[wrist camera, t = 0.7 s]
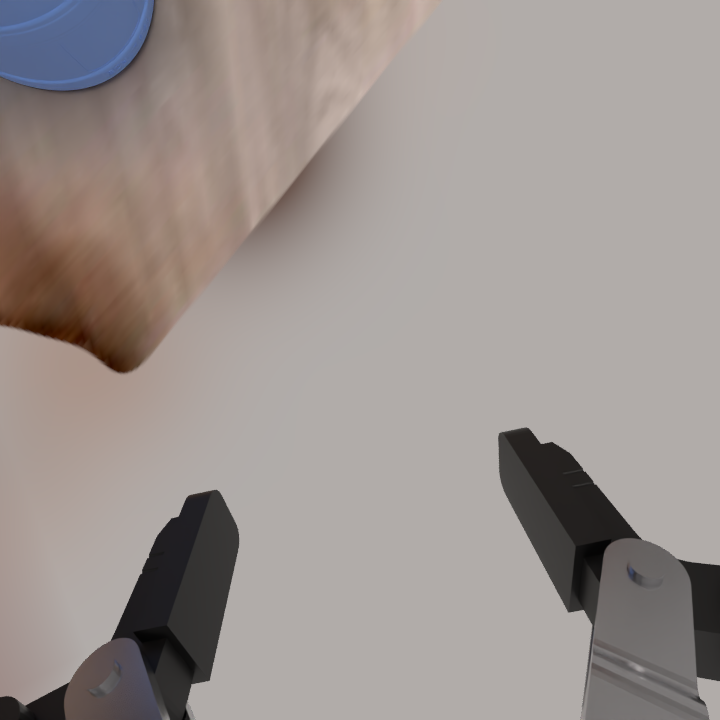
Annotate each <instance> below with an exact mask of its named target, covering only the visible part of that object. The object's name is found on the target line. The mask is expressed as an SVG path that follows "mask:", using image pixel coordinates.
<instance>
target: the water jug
mask: <svg viewBox="0 0 720 720" xmlns="http://www.w3.org/2000/svg"><path fill="white" fill-rule="evenodd" d="M153 6H154V0H0V76H1V77H3V78H5V79H8V80H11V81H13V82H16V83H19V84H23V85H26V86H30V87H35V88H40V89H47V90H77V89H83V88H88V87H92V86H95V85H98V84H100V83H102V82H105V81H107V80H109V79H110V78H112V77H114V76H115V75H117V74H118V73H119V72H121V71H122V70H123V69H124V68H125V67H126V66H127V65H128V64H129V63H130V62H131V61H132V60H133V58H134V57H135V56H136V54H137V53H138V51H139V50H140V48H141V46H142V44H143V42H144V40H145V38H146V36H147V33H148V30H149V27H150V23H151V19H152V13H153Z"/></svg>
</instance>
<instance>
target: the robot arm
mask: <svg viewBox="0 0 720 720" xmlns="http://www.w3.org/2000/svg"><path fill="white" fill-rule="evenodd" d="M498 441H499V472H500V478H501V483H502V486H503V489H504V492H505V494H506V496H507V498H508V499H509V502H510V503H511V505H512V507H513V509H514V511H515V513H516V515H517V516H518V519H519V520H520V522H521V524H522V526H523V528H524V530H525V531H526V534H527V536H528V537H529V539H530V541H531V543H532V545H533V547H534V549H535V550H536V552H537V554H538V556H539V558H540V560H541V562H542V564H543V566H544V567H545V569H546V571H547V573H548V575H549V577H550V579H551V580H552V582H553V584H554V586H555V588H556V590H557V592H558V594H559V595H560V597H561V599H562V601H563V603H564V605H565V607H566V609H567V611H568V612H574V611H579V610H584V611H585V613H586V614H587V616H588V618H589V620H590V621H591V623H592V632H591V640H590V648H589V657H588V665H587V672H586V682H585V688H584V697H583V704H582V712H581V720H709V715H708V711H707V707H706V704H705V702H704V701H702V700H701V699H700V697H699V694H698V688H697V677H700V678H705V679H711V680H716V681H720V565H710V564H701V563H692V562H687V561H683V560H679V559H676V558H675V557H674V556H673V555H672V554H670V553H669V552H668V551H666V550H665V549H663V548H661V547H660V546H657V545H655V544H653V543H651V542H647V541H644V540H642V539H641V538H640V537H639V536H638V535H637V534H636V533H635V531H634V530H633V529H632V528H631V527H630V525H629V524H628V523H627V522H626V521H625V519H624V518H623V517H622V516H621V515H620V513H619V512H618V511H617V510H616V508H615V507H614V506H613V505H612V503H611V502H610V501H609V500H608V499H607V497H606V496H605V495H604V494H603V493H602V491H601V490H600V489H599V488H598V487H597V485H594V483H593V480H592V479H591V478H590V477H589V475H588V474H587V473H586V472H584V471H583V468H582V467H581V466H580V465H579V463H578V462H577V461H576V460H575V459H574V457H573V456H572V455H571V454H570V453H569V452H567V451H566V450H564V449H562V448H561V447H559V446H557V445H556V444H554V443H553V442H550V443H545V444H540V442H539V441H538V440H537V438H536V437H535V436H534V434H533V433H532V432H531V430H530V429H529V428H521V429H516V430H511V431H507V432H502V433H499V437H498ZM238 548H239V533H238V528H237V525H236V523H235V521H234V519H233V517H232V515H231V513H230V511H229V509H228V507H227V506H226V503H225V501H224V499H223V497H222V495H221V494H220V492H219V491H218V490H212V491H208V492H203V493H198V494H193V495H189V496H188V497H187V498H186V500H185V503H184V505H183V508H182V510H181V513H180V515H179V517H176V518H172V519H171V520H170V521H169V522H168V523H167V525H166V526H165V527H164V528H163V529H162V531H161V532H160V533H159V534H158V536H157V538H156V540H155V542H154V545H153V547H152V549H151V552H150V554H149V558H147V560H146V563H145V565H144V567H143V569H142V574H141V575H140V576H139V578H138V581H137V583H136V585H135V588H134V590H133V592H132V594H131V597H130V599H129V601H128V603H127V606H126V608H125V610H124V613H123V615H122V617H121V619H120V622H119V624H118V626H117V629H116V631H115V633H114V635H113V637H112V639H111V641H110V642H108V643H106V644H104V645H102V646H101V647H100V648H98V649H97V650H95V651H94V652H93V653H92V654H91V655H90V656H89V657H88V658H87V659H86V660H85V661H84V662H83V663H82V664H81V666H80V667H79V668H78V670H77V671H76V672H75V674H74V676H73V677H72V679H71V681H70V682H69V683H67V684H65V685H63V686H62V687H60V688H58V689H56V690H54V691H52V692H50V693H48V694H47V695H45V696H43V697H41V698H39V699H37V700H35V701H33V702H31V703H29V704H28V705H26V706H24V705H23V704H22V703H20V702H19V701H18V700H16V699H15V698H13V697H9V696H5V697H0V720H195V718H194V715H193V712H192V710H191V707H190V706H189V704H188V702H187V700H188V696H189V692H190V688H191V684H195V683H200V682H205V681H209V680H210V676H211V671H212V667H213V662H214V658H215V653H216V649H217V644H218V640H219V635H220V630H221V626H222V621H223V617H224V611H225V608H226V603H227V598H228V593H229V589H230V584H231V580H232V576H233V571H234V566H235V562H236V557H237V553H238Z"/></svg>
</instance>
